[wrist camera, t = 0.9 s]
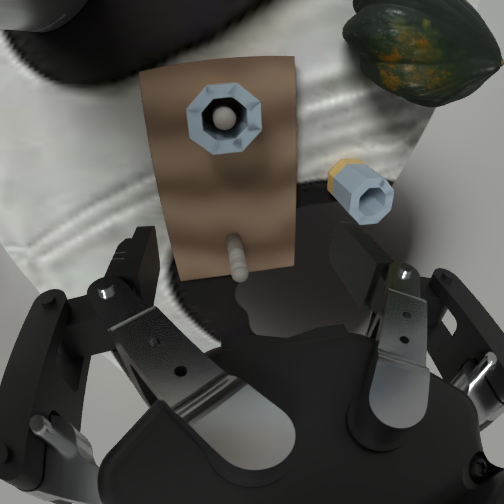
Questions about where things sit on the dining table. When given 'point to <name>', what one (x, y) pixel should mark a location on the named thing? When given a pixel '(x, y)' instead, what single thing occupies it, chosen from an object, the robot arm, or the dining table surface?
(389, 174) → the dining table surface
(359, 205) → the slate sleeve
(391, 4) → the squash
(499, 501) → the robot arm
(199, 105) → the seated sleeve
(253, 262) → the pin board
